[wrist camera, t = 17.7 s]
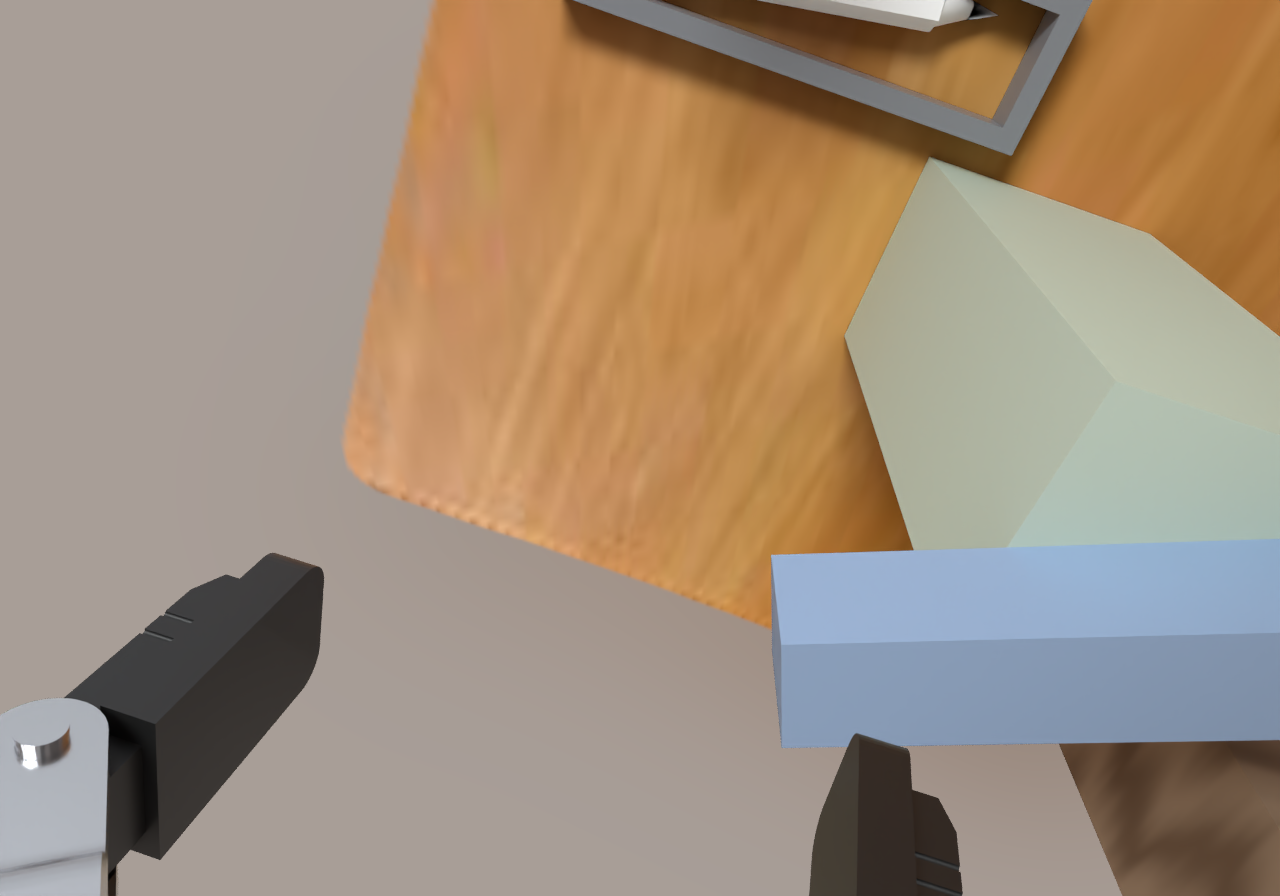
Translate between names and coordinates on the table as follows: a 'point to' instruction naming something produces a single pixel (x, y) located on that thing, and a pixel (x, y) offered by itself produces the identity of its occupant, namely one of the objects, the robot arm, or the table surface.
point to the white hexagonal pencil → (897, 11)
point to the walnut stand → (1184, 814)
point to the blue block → (1029, 644)
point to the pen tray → (1000, 133)
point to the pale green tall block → (1061, 379)
